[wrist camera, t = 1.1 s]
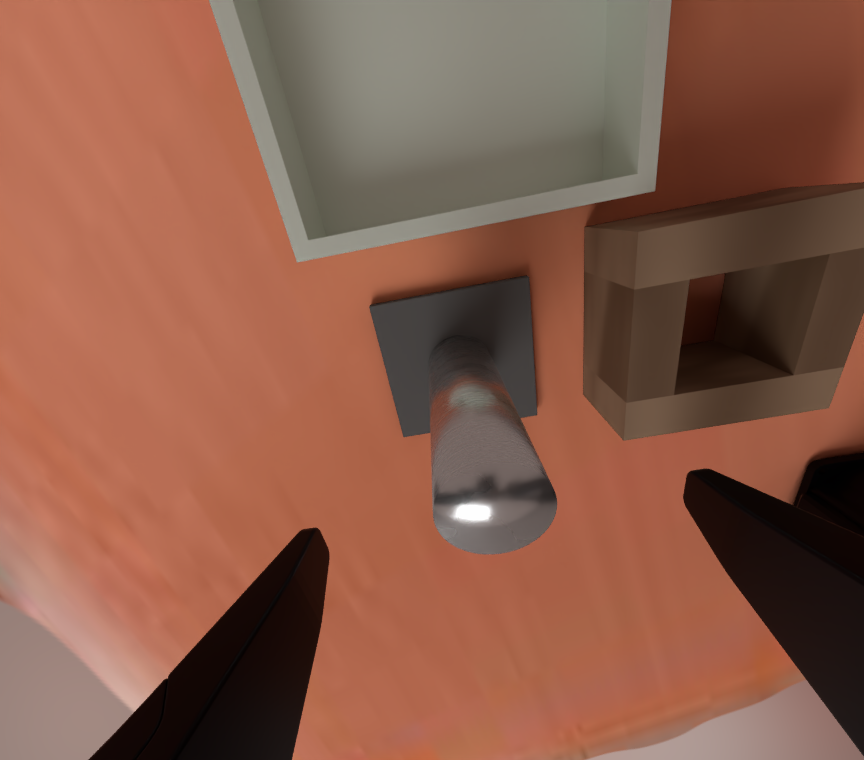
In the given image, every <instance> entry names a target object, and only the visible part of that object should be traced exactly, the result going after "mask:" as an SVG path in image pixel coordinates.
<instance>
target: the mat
mask: <svg viewBox="0 0 864 760" xmlns="http://www.w3.org/2000/svg"><path fill="white" fill-rule="evenodd" d="M369 308H370V312H371V315H372V319H373V323H374V327H375V330H376V334H377V338H378V342H379V346H380V349H381V353H382V357H383V361H384V365H385V368H386V372H387V376H388V380H389V384H390V387H391V391H392V395H393V399H394V402H395V406H396V410H397V414H398V418H399V421H400V425H401V429H402V433H403V437H407V436H413V435H419V434H425V433H430V403H429V371H428V363H429V358H430V355H431V353H432V351H433V349H434V348H435V347H436V346H437V345H438V344H439V343H440V342H441V341H443V340H444V339H446V338H449V337H451V336H456V335H466V336H471V337H474V338H476V339H478V340H479V341H481V342H482V343H483V344H484V345H485V346H486V348H487V349H488V351H489V353H490V355H491V357H492V359H493V361H494V364H495V366H496V368H497V370H498V372H499V374H500V376H501V378H502V381H503V383H504V385H505V387H506V389H507V391H508V393H509V395H510V398H511V400H512V402H513V404H514V406H515V408H516V410H517V412H518V415H519V417H520V418H522V417H528V416H534V415H537V403H536V386H535V369H534V352H533V335H532V318H531V301H530V284H529V276H527V275H526V276H520V277H515V278H510V279H504V280H499V281H494V282H489V283H483V284H478V285H473V286H467V287H462V288H457V289H451V290H446V291H441V292H436V293H430V294H425V295H420V296H414V297H409V298H404V299H399V300H393V301H388V302H383V303H377V304H372V305H370V307H369Z"/></svg>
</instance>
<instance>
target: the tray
mask: <svg viewBox="0 0 864 760" xmlns="http://www.w3.org/2000/svg"><path fill="white" fill-rule="evenodd" d="M209 2H210V5H211V8H212V11H213V14H214V16H215V19H216V22H217V25H218V28H219V31H220V34H221V37H222V40H223V43H224V46H225V49H226V52H227V55H228V58H229V61H230V64H231V67H232V70H233V73H234V76H235V79H236V82H237V85H238V88H239V91H240V94H241V97H242V100H243V103H244V106H245V109H246V112H247V115H248V118H249V121H250V124H251V126H252V129H253V132H254V135H255V138H256V141H257V144H258V147H259V150H260V153H261V156H262V159H263V162H264V165H265V168H266V171H267V174H268V177H269V180H270V183H271V186H272V189H273V192H274V195H275V198H276V201H277V204H278V207H279V210H280V213H281V216H282V219H283V222H284V225H285V228H286V231H287V234H288V236H289V239H290V242H291V245H292V248H293V251H294V254H295V257H296V260H297V262H302V261H307V260H312V259H317V258H322V257H327V256H332V255H337V254H342V253H347V252H352V251H357V250H362V249H367V248H372V247H377V246H382V245H387V244H392V243H397V242H402V241H407V240H412V239H417V238H422V237H427V236H432V235H437V234H442V233H447V232H452V231H458V230H463V229H468V228H473V227H478V226H483V225H488V224H493V223H498V222H503V221H508V220H513V219H518V218H523V217H528V216H533V215H538V214H543V213H548V212H553V211H558V210H563V209H568V208H573V207H578V206H583V205H588V204H593V203H598V202H603V201H608V200H613V199H618V198H623V197H628V196H633V195H638V194H643V193H649V192H654V191H655V187H656V176H657V164H658V153H659V141H660V129H661V118H662V106H663V95H664V83H665V71H666V60H667V48H668V37H669V25H670V13H671V2H672V0H209Z"/></svg>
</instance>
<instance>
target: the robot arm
mask: <svg viewBox="0 0 864 760" xmlns="http://www.w3.org/2000/svg"><path fill="white" fill-rule="evenodd" d="M683 499H684V503H685V506H686V508H687V510H688V511H689V513H690V514H691V516H692V518H693V519H694V521H695V523H696V524H697V526H698V527H699V529H700V531H701V532H702V534H703V536H704V537H705V539H706V541H707V542H708V544H709V545H710V547H711V549H712V550H713V552H714V554H715V555H716V557H717V558H718V560H719V562H720V563H721V565H722V566H723V568H724V569H725V571H726V572H727V574H728V575H729V576H730V578H731V579H732V581H733V582H734V583H735V585H736V586H737V587H738V589H739V590H740V591H741V593H742V594H743V595H744V597H745V598H746V599H747V601H748V602H749V603H750V605H751V606H752V607H753V609H754V610H755V611H756V613H757V614H758V615H759V617H760V618H761V619H762V621H763V622H764V623H765V625H766V626H767V627H768V629H769V630H770V631H771V633H772V634H773V636H774V637H775V638H776V640H777V641H778V642H779V644H780V645H781V646H782V648H783V649H784V650H785V652H786V653H787V654H788V656H789V657H790V658H791V660H792V661H793V662H794V664H795V665H796V666H797V668H798V669H799V670H800V672H801V673H802V674H803V676H804V677H805V678H806V680H807V681H808V682H809V684H810V685H811V686H812V688H813V689H814V690H815V692H816V693H817V694H818V696H819V697H820V698H821V700H822V701H823V702H824V704H825V705H826V706H827V708H828V709H829V710H830V712H831V713H832V714H833V716H834V717H835V719H836V720H837V721H838V723H839V724H840V725H841V726H842V728H843V729H844V730H845V732H846V733H847V735H848V736H849V737H850V738H851V740H852V741H853V743H854V744H855V745H856V747H857V748H858V749H859V751H860V752H861V753H862V755H863V756H864V453H860V454H854V455H847V456H841V457H834V458H827V459H821V460H816V461H814V462H812V463H811V464H810V465H809V466H808V467H807V470H806V472H805V475H804V478H803V481H802V483H801V486H800V489H799V492H798V494H797V497H796V500H795V502H794V505H791V504H788V503H786V502H784V501H781V500H779V499H777V498H775V497H772V496H770V495H768V494H766V493H763V492H761V491H759V490H757V489H754V488H752V487H750V486H747V485H745V484H743V483H741V482H738V481H736V480H734V479H732V478H729V477H727V476H725V475H722V474H720V473H718V472H716V471H713V470H711V469H700V470H693V471H690V472H689V473H688V474H687V477H686V483H685V489H684V494H683ZM328 566H329V549H328V547H327V545H326V542H325V540H324V538H323V536H322V534H321V532H320V530H319V529H318V528H309V529H303V530H301V531H300V532H299V533H298V534H297V535H296V536H295V537H294V538H293V539H292V540H291V541H290V542H289V543H288V545H287V546H286V547H285V548H284V549H283V550H282V551H281V552H280V553H279V554H278V556H277V557H276V558H275V559H274V560H273V561H272V562H271V563H270V564H269V565H268V567H267V568H266V569H265V570H264V571H263V572H262V573H261V574H260V575H259V576H258V577H257V579H256V580H255V581H254V582H253V583H252V584H251V585H250V586H249V587H248V588H247V590H246V591H245V592H244V593H243V594H242V595H241V596H240V597H239V598H238V599H237V601H236V602H235V603H234V604H233V605H232V606H231V607H230V608H229V609H228V610H227V611H226V613H225V614H224V615H223V616H222V617H221V618H220V619H219V620H218V621H217V622H216V624H215V625H214V626H213V627H212V628H211V629H210V630H209V631H208V632H207V633H206V635H205V636H204V637H203V638H202V639H201V640H200V641H199V642H198V643H197V644H196V646H195V647H194V648H193V649H192V650H191V651H190V652H189V653H188V654H187V655H186V656H185V658H184V659H183V660H182V661H181V662H180V663H179V664H178V665H177V666H176V667H175V669H174V670H173V671H172V672H171V673H170V674H169V676H168V679H165V680H163V682H162V683H161V684H160V685H159V686H158V687H157V688H156V689H155V690H154V691H153V693H152V694H151V695H150V696H149V697H148V698H147V699H146V700H145V701H144V702H143V703H142V704H141V706H140V707H139V708H138V709H137V710H136V711H135V712H134V713H133V714H132V715H131V716H130V717H129V718H128V720H126V722H125V723H124V724H123V725H122V726H121V727H120V728H119V729H118V730H117V731H116V732H115V733H114V734H113V735H112V736H111V737H110V739H108V740H107V741H106V743H104V744H103V746H102V747H100V748H99V750H98V751H97V752H96V753H95V754H94V755H93V756H92V757H91V758H90V759H89V760H292V757H293V752H294V747H295V743H296V738H297V734H298V729H299V725H300V720H301V716H302V711H303V706H304V702H305V697H306V693H307V688H308V684H309V679H310V675H311V670H312V665H313V661H314V656H315V652H316V647H317V643H318V638H319V633H320V628H321V623H322V616H323V608H324V600H325V591H326V583H327V574H328Z"/></svg>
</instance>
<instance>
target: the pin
mask: <svg viewBox="0 0 864 760" xmlns="http://www.w3.org/2000/svg"><path fill="white" fill-rule="evenodd" d="M428 371H429V403H430V434H431V466H432V497H433V518H434V523H435V526H436V528H437V530H438V531H439V533H440V534H441V535H442V537H443V538H444V539H445V540H446V541H448V542H449V543H451V544H452V545H454V546H455V547H457V548H459V549H462V550H464V551H468V552H472V553H477V554H501V553H506V552H510V551H514V550H517V549H520V548H522V547H524V546H526V545H528V544H530V543H532V542H533V541H535V540H536V539H537V538H539V537H540V536H541V535H542V534H543V533H544V532H545V531H546V530H547V529H548V528H549V526H550V525H551V523H552V521H553V519H554V517H555V514H556V510H557V498H556V494H555V491H554V489H553V487H552V485H551V482H550V480H549V478H548V476H547V474H546V472H545V470H544V468H543V465H542V463H541V461H540V459H539V457H538V455H537V453H536V451H535V449H534V446H533V444H532V442H531V440H530V438H529V436H528V434H527V432H526V429H525V427H524V425H523V423H522V421H521V419H520V417H519V415H518V412H517V410H516V408H515V406H514V404H513V402H512V400H511V398H510V395H509V393H508V391H507V389H506V387H505V385H504V383H503V381H502V378H501V376H500V374H499V372H498V370H497V368H496V366H495V364H494V361H493V359H492V357H491V355H490V353H489V351H488V349H487V348H486V346H485V345H484V344H483V343H482V342H481V341H479V340H478V339H476V338H474V337H471V336H466V335H456V336H451V337H449V338H446V339H444V340H443V341H441V342H440V343H439V344H438V345H437V346H436V347H435V348H434V349H433V351H432V353H431V355H430V358H429V363H428Z"/></svg>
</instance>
